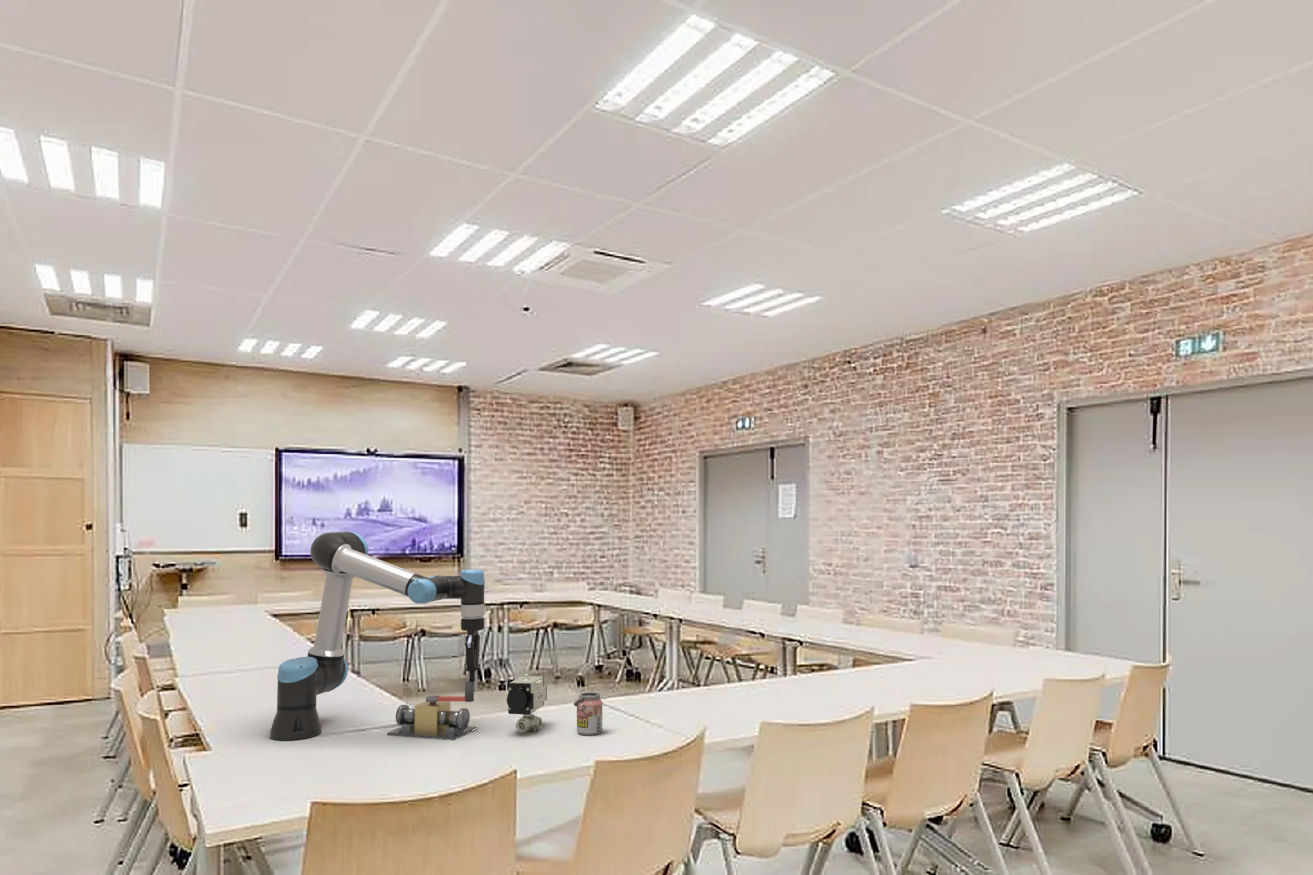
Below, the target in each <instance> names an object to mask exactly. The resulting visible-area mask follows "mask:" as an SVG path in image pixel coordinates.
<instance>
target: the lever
mask: <svg viewBox="0 0 1313 875" xmlns="http://www.w3.org/2000/svg"><path fill="white" fill-rule="evenodd" d="M474 695H475V692H474V682H470V681H468V680H467V681H465V682H464V696H461V695H460V696H459V695H457V696H455V695H454V696H451V695H450V696H449V695H448V696H446V695H445V696H443V695H441V696H440V695H436V694H435V695H428V696H425V702H437V701H449V702H465V703H470V702H471V703H472V702H474V701H475V698H474V697H475V696H474Z"/></svg>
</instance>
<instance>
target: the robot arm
mask: <svg viewBox="0 0 1313 875" xmlns="http://www.w3.org/2000/svg"><path fill="white" fill-rule="evenodd" d="M310 546H311V547H310V557H311V559H312V561H313V562H314V564H315V565H317V566H319V567H320V568H322V572H323V573H324V574H325V581H324V587H323V592H322V599H321V604H320V610H319V614H318V615H319V616H318V621H317V627H316V632H315V638H314V643H313V646H312V647H311V648H309V649H308V650H307V656H301V657H296V658H291V659H287V660H285V661H283V662H281V663H280V665H279V666H278V671H277V672H278V673H277V678H276V679H277V695H276V699H277V700H276V713H275V715H274V716H275V717H274V719H273V722H272V725H271V728H270V732H269V738H270V739H272V740H275V741H296V740H304V739H310V738H313V737H316V736H319V735H320V734H321V733H322V723H321V721H320V716H319V713H318V709H317V696H318V695H321V694H326V693H328V692H331V691H333V690H335V689H337V688H338V687H339V688H340V686H341V685H343V683H344V682H345V681H346V679H347V676H348V674H349V671H348V670H349V665H348V663H347V661H346V659H345V651H344V650H343V649H342V642H343V636H344V632H345V625H346V620H347V613H348V608H349V602H350V596H351V591H352V590H351V589H352V585H353V580H354V579H353V578H354V577H356V578H358V579H360V580H364V581H367V582H369V583H371V584H373V585H374V584H375V585H377V586H379V587H383V588H385V589H386V590H390V591H393V592H395V593H398V594H400V595H404V596H406V597H408V598H409V600H410V601H411V602H412V603H414V604H422V605H426V604H428V603H431V602H435V601H441V600H455V599H456V600H460V607H459V608H458V609H459V611H460V616H461V619H460V629H461V631H466V632H467V634H466V635H465V642H464V646H465V657H466V658H465V659H466V660H465V662H466V668H465V672H467V681H470V682H474V693H475V692H477V691H478V671H480V667H479V665H480V662H479V660H480V642H481V641H480V640H481V634H479V631H482V630H483V629H485V618H484V616H485V585H486V583H485V573H484V570H482V569H479V568H477V569H476V568H471V569H462V570H461V571H460V575H439V574H438V575H430V576H428V577H427V576H423V575H422V574H417V573H416V572H413V571H410V570H407V569H405V568H403V567H400V566H397V565H395V564H392V563H390V562H387V561H385V560H381V559H380V558H376V557H374V556H372V555H369V546H368V543H367V541H366V539H365V538H364V537H363V536H362V535H361V534H359V533H357V532H353V531H338V532H333V531H332V532H331V531H330V532H324V533H322V534H320V535H318V536H317V537H316V538H315V539H314V540H313V542H312V544H311V545H310Z"/></svg>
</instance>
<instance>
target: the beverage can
mask: <svg viewBox="0 0 1313 875" xmlns="http://www.w3.org/2000/svg"><path fill="white" fill-rule="evenodd" d="M578 696H579V697H578V698H577V699H576V700H575V701H574V702H573V706H574V707H576V732H577V733H578V735H581V736H586V737H589V736H590V737H591V736H597V735H598V736H599V735H600V734H601V733H602V732H603V701H602V699H601V693H600V692H593V691H592V692H591V691H589V692H583V693H580V694H579V695H578Z"/></svg>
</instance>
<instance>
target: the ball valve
mask: <svg viewBox="0 0 1313 875" xmlns="http://www.w3.org/2000/svg"><path fill="white" fill-rule="evenodd" d="M507 686H508V690H507V692H508V694H507V697H506V704H507V706H508V707H507V708H508V709H507V710H508V712H507V714H508V715H522V717H520V718H519V719H518V720H517V721H516V724H515V728H516V730H517V731H518V733H522V734H525V733H527V732H528V731H530V732H531V731H532V732H536V731H538V730H541V729H542V726H543V720H542V717H540V716H537V715H535V714H533V713H535V712H536V711H538V710H539V709H540V708H542V707H544V705H545V702H546V701H547V700H548V699H547V698H548V689H547V688H548V685H547V684H546V685H545V676H544V675H530V674H529V673H525V674H524V675H522V676H519V677H518V678H516V679H515V680H513V681H510V682H509V683H508V684H507Z"/></svg>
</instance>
